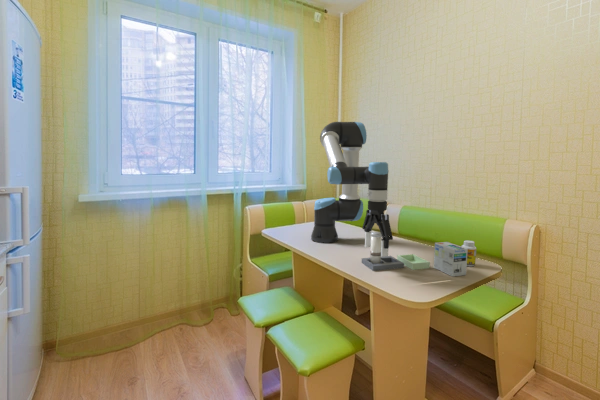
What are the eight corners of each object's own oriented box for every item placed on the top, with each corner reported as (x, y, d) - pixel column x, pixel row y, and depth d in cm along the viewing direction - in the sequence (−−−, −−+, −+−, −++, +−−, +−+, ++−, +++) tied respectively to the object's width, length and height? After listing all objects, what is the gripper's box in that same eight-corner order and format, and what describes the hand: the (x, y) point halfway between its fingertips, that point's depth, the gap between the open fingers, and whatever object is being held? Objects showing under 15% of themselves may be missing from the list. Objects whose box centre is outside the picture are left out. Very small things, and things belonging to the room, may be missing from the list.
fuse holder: (361, 263, 127) (361, 258, 127) (390, 260, 131) (390, 255, 130) (372, 272, 118) (373, 266, 117) (403, 268, 121) (404, 263, 121)
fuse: (368, 264, 125) (369, 232, 123) (377, 263, 126) (378, 231, 124) (373, 268, 121) (374, 234, 119) (382, 267, 122) (384, 233, 120)
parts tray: (396, 262, 129) (397, 255, 129) (412, 260, 131) (413, 254, 131) (412, 270, 119) (412, 263, 118) (429, 269, 121) (429, 262, 120)
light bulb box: (466, 275, 114) (468, 248, 113) (452, 277, 112) (454, 249, 111) (445, 266, 124) (447, 241, 123) (432, 267, 123) (434, 242, 121)
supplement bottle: (457, 264, 126) (459, 241, 125) (463, 261, 130) (464, 238, 129) (472, 267, 122) (474, 243, 121) (477, 264, 126) (478, 241, 124)
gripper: (355, 197, 131) (354, 243, 133) (385, 204, 107) (383, 261, 109) (370, 196, 133) (369, 242, 135) (403, 204, 109) (401, 259, 111)
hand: (375, 251), depth 122 cm, fingers open, 13 cm apart
